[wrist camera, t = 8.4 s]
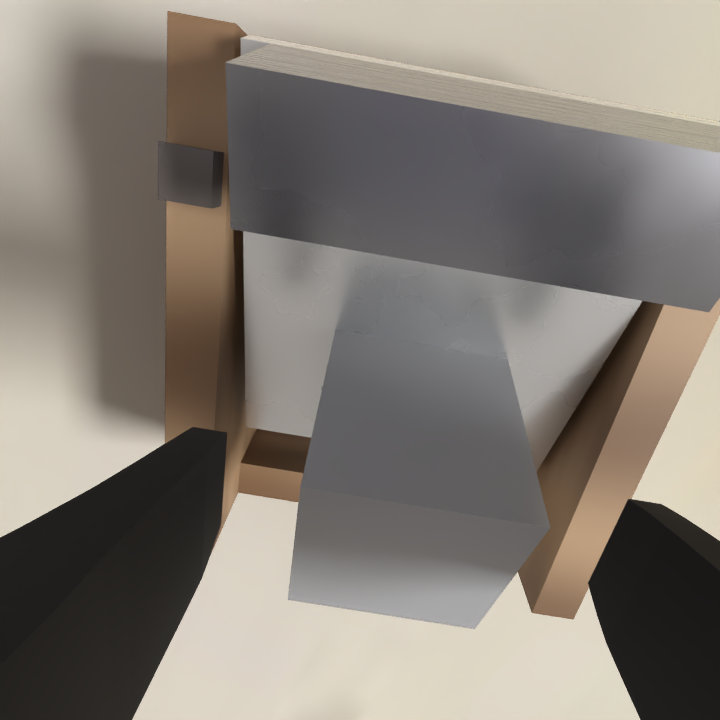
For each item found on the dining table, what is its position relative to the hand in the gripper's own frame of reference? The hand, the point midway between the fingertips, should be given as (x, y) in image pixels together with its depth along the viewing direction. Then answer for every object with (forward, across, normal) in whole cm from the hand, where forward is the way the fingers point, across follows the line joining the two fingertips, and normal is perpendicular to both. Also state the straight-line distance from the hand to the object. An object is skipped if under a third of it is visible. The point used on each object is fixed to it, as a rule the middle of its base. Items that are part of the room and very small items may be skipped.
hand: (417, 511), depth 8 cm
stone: (+4, 0, 0) cm, 4 cm away
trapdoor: (+4, 0, -3) cm, 5 cm away
